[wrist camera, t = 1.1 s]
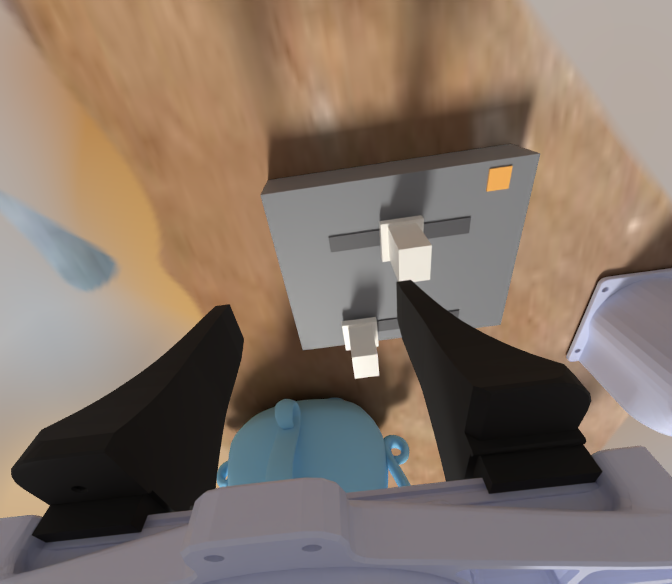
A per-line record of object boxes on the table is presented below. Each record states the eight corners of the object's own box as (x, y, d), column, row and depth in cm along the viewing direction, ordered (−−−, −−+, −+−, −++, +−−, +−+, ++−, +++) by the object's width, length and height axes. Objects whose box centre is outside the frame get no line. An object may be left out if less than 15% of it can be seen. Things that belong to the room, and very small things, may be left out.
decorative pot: (321, 474, 41) (323, 620, 30) (211, 436, 35) (161, 605, 24) (412, 416, 35) (458, 576, 24) (297, 355, 28) (284, 537, 17)
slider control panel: (482, 301, 25) (501, 325, 23) (304, 324, 26) (302, 351, 23) (510, 143, 19) (541, 153, 16) (267, 180, 19) (260, 195, 17)
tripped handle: (420, 252, 19) (437, 282, 16) (381, 258, 19) (391, 288, 16) (421, 215, 17) (440, 240, 15) (379, 221, 17) (390, 247, 15)
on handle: (377, 341, 23) (385, 376, 20) (345, 345, 23) (349, 381, 20) (375, 316, 21) (383, 351, 19) (341, 321, 22) (344, 356, 19)
